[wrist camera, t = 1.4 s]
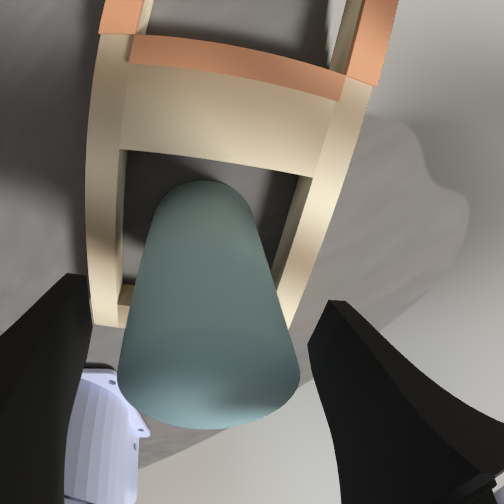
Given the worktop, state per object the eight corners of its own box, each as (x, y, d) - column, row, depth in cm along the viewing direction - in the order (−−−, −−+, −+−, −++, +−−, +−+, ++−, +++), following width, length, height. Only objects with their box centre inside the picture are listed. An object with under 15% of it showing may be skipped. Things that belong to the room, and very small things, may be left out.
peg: (253, 266, 15) (291, 419, 9) (160, 273, 15) (144, 431, 8) (253, 176, 13) (310, 316, 6) (145, 185, 12) (90, 332, 6)
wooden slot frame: (277, 320, 17) (284, 344, 16) (100, 303, 15) (93, 328, 14) (391, -73, 7) (413, -83, 5) (170, -128, 5) (167, -148, 3)
